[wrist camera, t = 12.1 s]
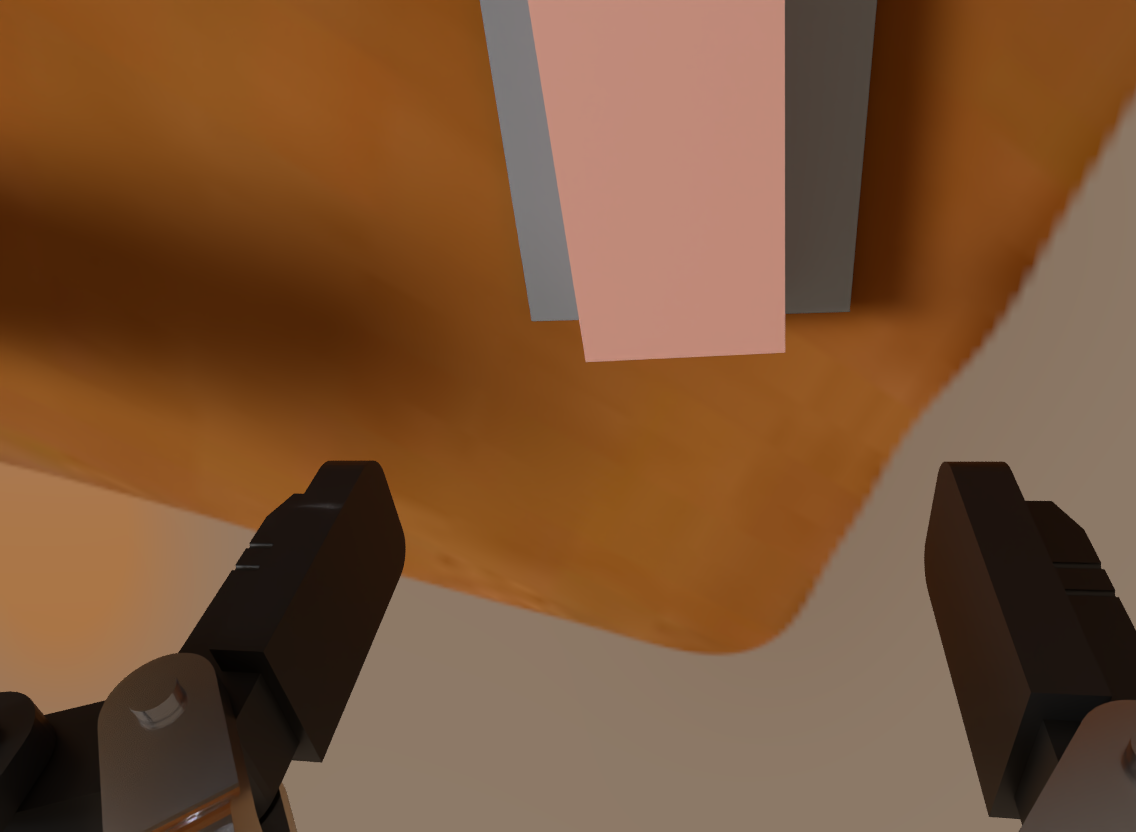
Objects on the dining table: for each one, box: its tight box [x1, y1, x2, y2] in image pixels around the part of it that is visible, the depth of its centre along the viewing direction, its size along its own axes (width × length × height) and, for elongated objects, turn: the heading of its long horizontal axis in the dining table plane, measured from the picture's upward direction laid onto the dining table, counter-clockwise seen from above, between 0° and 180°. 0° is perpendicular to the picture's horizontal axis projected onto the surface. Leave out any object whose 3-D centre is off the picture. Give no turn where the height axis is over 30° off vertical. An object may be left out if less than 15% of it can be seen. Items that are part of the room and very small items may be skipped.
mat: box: [480, 0, 877, 321], centre depth 19 cm, size 15×9×1 cm, turn 7°
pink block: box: [528, 0, 785, 362], centre depth 18 cm, size 14×5×3 cm, turn 9°
